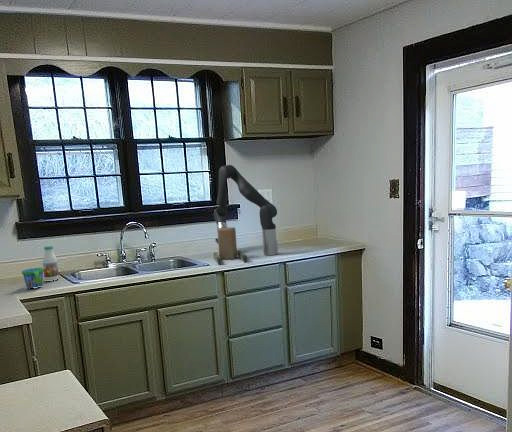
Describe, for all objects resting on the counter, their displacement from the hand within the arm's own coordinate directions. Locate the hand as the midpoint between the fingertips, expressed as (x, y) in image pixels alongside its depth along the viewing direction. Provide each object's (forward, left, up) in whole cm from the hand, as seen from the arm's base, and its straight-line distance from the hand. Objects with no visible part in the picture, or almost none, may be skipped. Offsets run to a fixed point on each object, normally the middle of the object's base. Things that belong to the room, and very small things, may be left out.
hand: (226, 249), depth 315 cm
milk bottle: (+105, +27, -5) cm, 109 cm away
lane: (0, +17, -4) cm, 18 cm away
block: (0, +9, -5) cm, 10 cm away
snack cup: (+110, +44, -5) cm, 119 cm away
